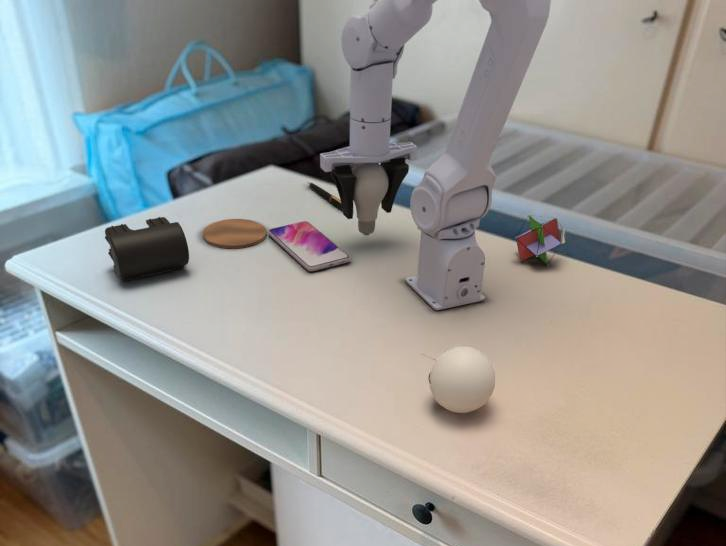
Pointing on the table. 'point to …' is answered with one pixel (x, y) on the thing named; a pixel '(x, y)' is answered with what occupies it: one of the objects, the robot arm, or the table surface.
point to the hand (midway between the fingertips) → (367, 213)
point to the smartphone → (309, 246)
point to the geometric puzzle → (539, 239)
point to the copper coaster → (234, 233)
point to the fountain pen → (326, 195)
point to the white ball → (462, 379)
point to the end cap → (147, 248)
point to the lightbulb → (369, 194)
